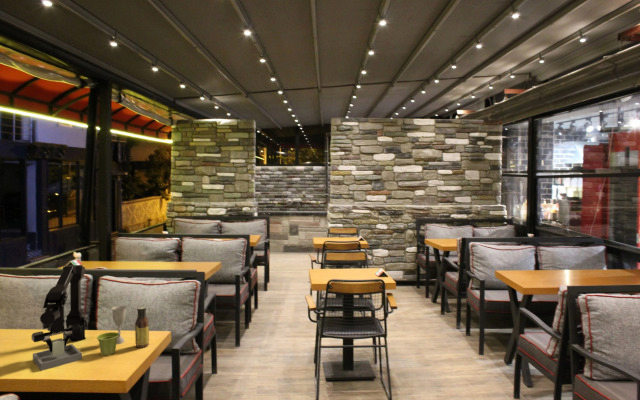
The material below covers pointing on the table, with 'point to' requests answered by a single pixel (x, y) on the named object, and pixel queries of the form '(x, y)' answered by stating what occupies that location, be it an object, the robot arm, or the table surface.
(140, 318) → the sauce bottle
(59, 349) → the sage block
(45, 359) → the tray
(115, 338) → the plant pot
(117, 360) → the table surface
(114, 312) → the chalice
